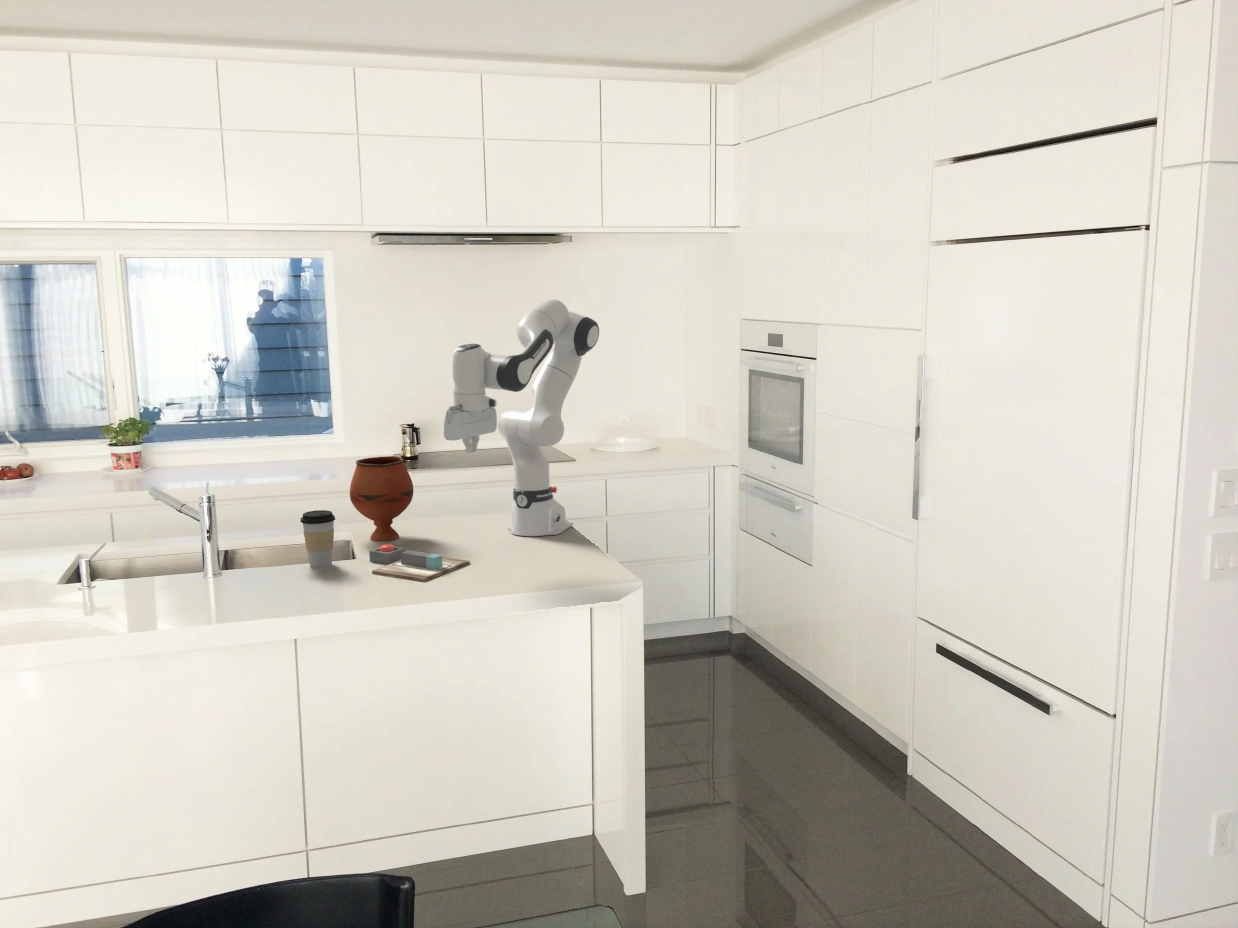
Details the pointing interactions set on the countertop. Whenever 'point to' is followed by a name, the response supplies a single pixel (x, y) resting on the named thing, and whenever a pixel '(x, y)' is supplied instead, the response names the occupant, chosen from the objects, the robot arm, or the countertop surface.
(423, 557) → the block
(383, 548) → the button
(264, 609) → the countertop surface
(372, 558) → the button housing
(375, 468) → the goblet
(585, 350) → the robot arm
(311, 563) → the coffee cup
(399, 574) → the drawing board
